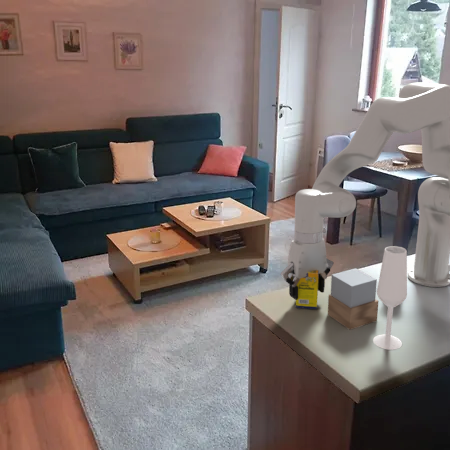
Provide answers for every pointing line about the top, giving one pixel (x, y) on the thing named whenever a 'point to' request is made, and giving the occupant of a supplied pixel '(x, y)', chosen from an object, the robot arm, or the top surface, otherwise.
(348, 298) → the tower top block
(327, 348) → the top surface
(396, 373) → the top surface
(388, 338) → the champagne flute
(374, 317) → the tower base block
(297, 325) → the top surface
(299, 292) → the supplement box
